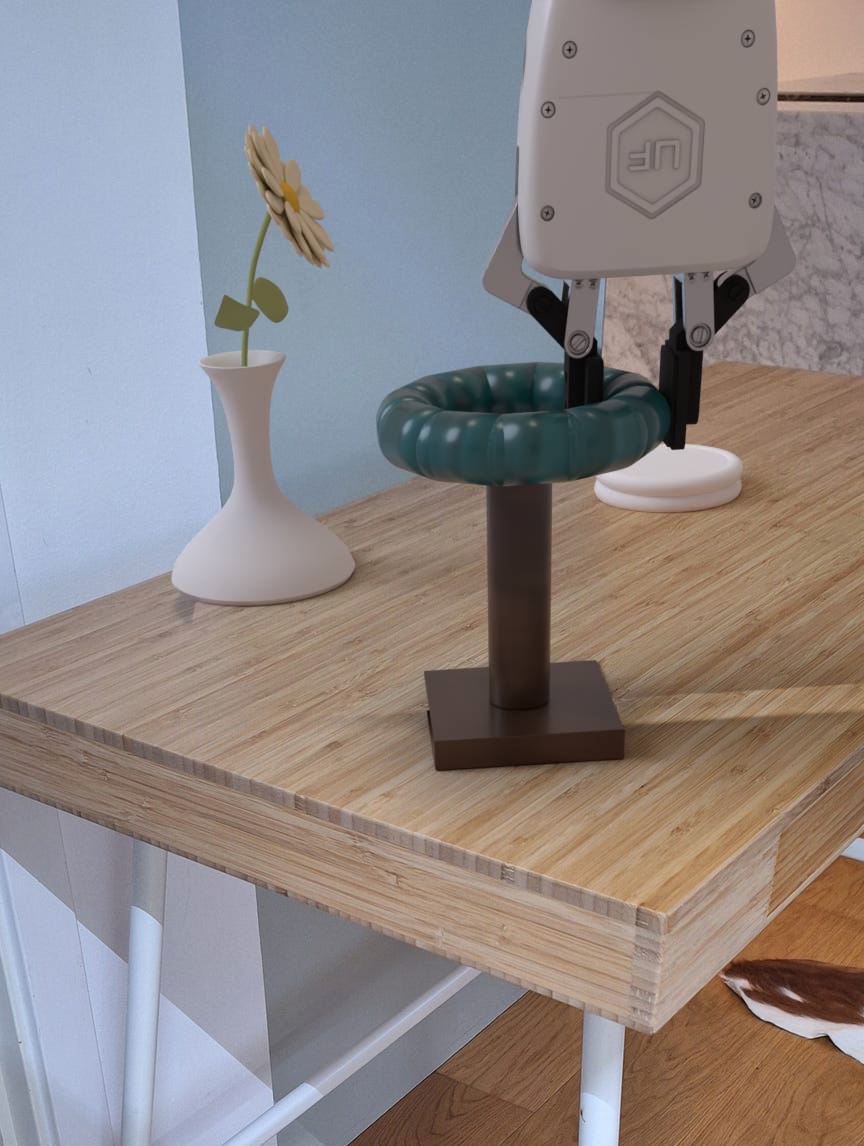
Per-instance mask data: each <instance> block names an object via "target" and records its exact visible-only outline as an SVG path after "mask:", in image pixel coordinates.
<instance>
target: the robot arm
mask: <svg viewBox="0 0 864 1146" xmlns="http://www.w3.org/2000/svg"><path fill="white" fill-rule="evenodd" d="M776 14H777V12H776V0H531V5H530V10H529V16H528V23H527V30H526V34H525V45H524V54H523V55H524V56H523V64H522V65H523V66H522V72H521V82H520V90H519V101H518V103H519V104H518V119H517V132H516V133H517V135H516V154H515V177H514V182H515V183H514V198H513V201H512V203H511V205H510V208H509V209H508V212H507V214H506V215H505V219H504V221H503V223H502V225H501V227H500V230H499V232H498V234H497V235H496V238H495V240H494V242H493V245H492V247H491V249H490V251H489V253H488V256H487V257H486V260H485V262H484V264H483V266H482V269H481V271H480V274H479V281H480V283H481V286H482V287H483V288H484V290H485V291H486V292H487V294H488V293H489V294H490V295H492V296H494V297H496V298H498V299H499V300H501V301H503V302H505V303H507V304H509V305H511V306H512V307H514V308H515V309H517V310H520V311H522V312H524V313H526V314H528V315H529V316H531V317H532V318H533V319H534V320H535V321H536V322H537V323H538V324H539V325H540V327H542V329H544V331H545V332H547V333H548V335H550V336H551V338H552V339H553V340H554V341H555V342H556V343H557V344H558V345H559V346H560V348H562V350H563V351H564V352H563V363H564V392H563V410H565V409H570V408H575V407H580V406H584V405H589V404H594V403H598V402H603V381H604V366H605V362H604V359H603V358H602V356H601V355H600V353H599V352H598V343H599V340H597V338H596V337H595V328H596V321H597V313H598V304H599V295H600V288H601V281H602V279H614V278H615V279H617V278H630V277H645V276H646V277H647V276H649V277H650V276H661V275H662V276H663V275H664V276H665V275H671V291H672V317H673V318H672V320H673V324H672V326H671V327H670V328H669V329H668V339H665V340H664V344H661V346H660V353H659V371H658V372H659V373H658V390H659V392H660V393H661V394H662V395H663V396H664V397H665V399H666V401H667V403H668V405H669V408H670V412H671V422H670V428H669V431H668V433H667V435H666V437H665V439H664V440H663V441H662V442H663V444H665V445H666V446H667V447H670V448H671V450H683V449H684V448H685V444H686V442H687V441H686V440H687V425H690V426H691V425H697V424H698V423H699V418H700V407H701V394H702V393H701V392H702V379H703V378H702V377H703V362H704V351H705V350H706V349H708V348H709V347H710V346H711V345H712V343H713V341H714V339H715V336H716V335H717V333H718V332H719V331H720V330H721V329H722V328H723V327H724V326H725V325H726V324H727V323H728V322H729V321H730V320H731V318H732V317H733V316H734V315H735V314H736V313H737V312H738V311H739V310H740V309H741V308H742V306H744V304H745V303H746V302H747V300H749V299H751V298H752V297H753V296H755V295H759V294H761V292H763V291H765V290H766V289H768V288H769V287H771V286H772V285H774V284H776V283H777V282H778V281H780V280H782V279H783V278H785V277H787V276H788V275H789V274H791V273H792V272H793V270H794V269H795V267H796V263H797V259H796V253H795V251H794V249H793V247H792V244H791V241H790V239H789V237H788V234H787V231H786V229H785V226H784V224H783V221H782V219H781V217H780V213H779V212H778V209H777V206H776V204H775V202H776V201H775V198H776V180H777V179H776V178H777V146H778V145H777V144H778V143H777V142H778V140H777V139H778V92H779V91H778V88H779V87H778V82H779V77H778V76H779V75H778V72H779V71H778V32H777V15H776ZM523 261H525V262H527V263H528V265H529V266H530V267H531V269H532V270H534V271H535V272H537V273H539V274H541V275H543V276H545V277H547V278H551V279H556V280H561V285H560V296H559V297H558V296H557V294H555V293H554V292H553V291H552V290H551V288H549V287H548V285H547V284H545V283H543V282H540V281H538V280H537V279H535V278H534V277H531V276H530V275H528V274H526V273H525V272H524V271H523V269H522V267H523V266H522V265H523V264H522V263H523ZM719 271H723V272H721V273H719V274H718V275H717V277H715V279H714V272H719Z"/></svg>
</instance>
